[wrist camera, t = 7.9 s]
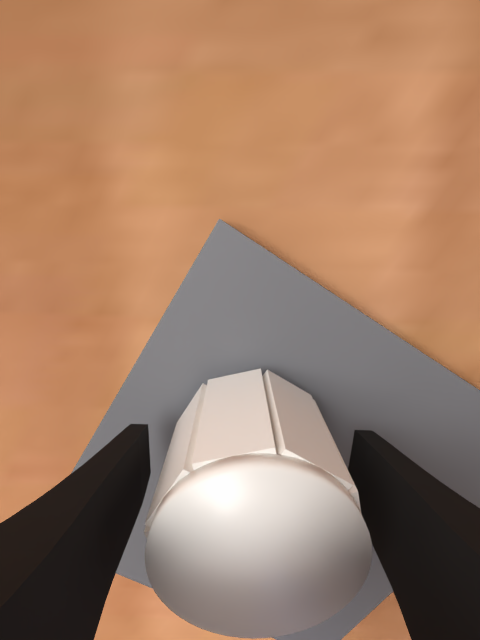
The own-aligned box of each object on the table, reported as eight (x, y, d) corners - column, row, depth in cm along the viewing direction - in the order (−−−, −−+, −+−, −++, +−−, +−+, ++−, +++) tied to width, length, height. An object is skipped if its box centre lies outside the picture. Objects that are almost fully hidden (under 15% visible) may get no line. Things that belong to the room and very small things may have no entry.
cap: (269, 509, 12) (287, 662, 8) (156, 454, 11) (105, 590, 7) (347, 415, 11) (419, 534, 7) (227, 346, 10) (220, 429, 6)
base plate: (316, 633, 17) (321, 657, 16) (46, 518, 14) (33, 539, 13) (531, 425, 13) (555, 440, 12) (221, 220, 10) (219, 218, 10)
